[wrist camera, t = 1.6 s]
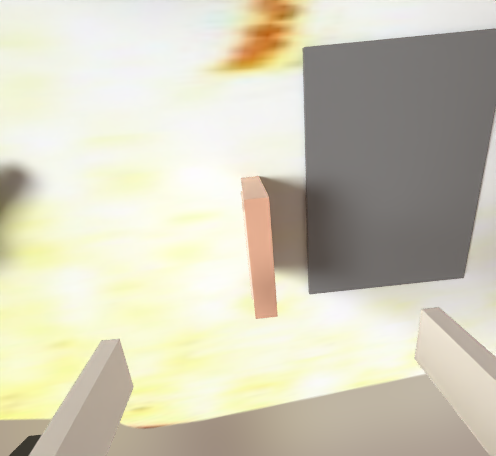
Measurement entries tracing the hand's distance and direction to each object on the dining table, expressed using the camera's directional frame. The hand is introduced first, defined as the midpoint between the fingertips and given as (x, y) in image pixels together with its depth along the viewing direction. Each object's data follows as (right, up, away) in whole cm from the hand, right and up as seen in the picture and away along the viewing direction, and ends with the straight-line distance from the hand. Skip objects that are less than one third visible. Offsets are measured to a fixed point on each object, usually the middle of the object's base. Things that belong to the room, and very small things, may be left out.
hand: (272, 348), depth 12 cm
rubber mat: (+12, +10, +13) cm, 20 cm away
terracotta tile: (0, +6, +14) cm, 15 cm away
